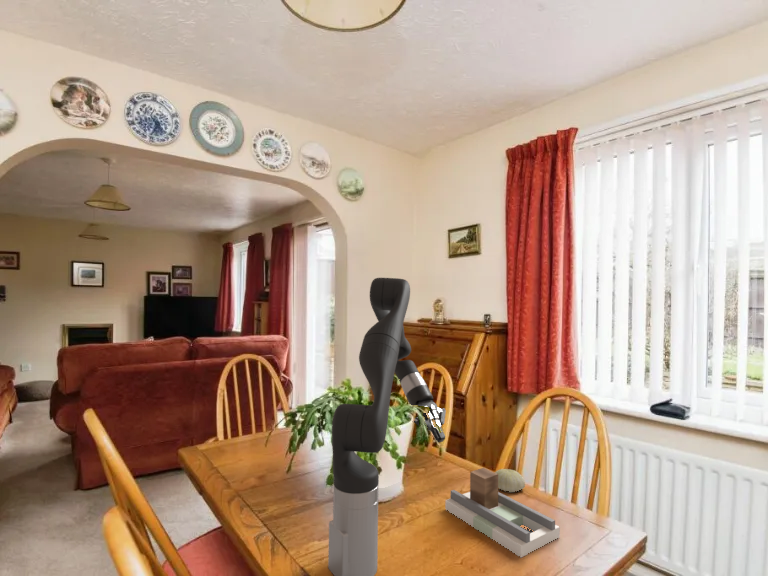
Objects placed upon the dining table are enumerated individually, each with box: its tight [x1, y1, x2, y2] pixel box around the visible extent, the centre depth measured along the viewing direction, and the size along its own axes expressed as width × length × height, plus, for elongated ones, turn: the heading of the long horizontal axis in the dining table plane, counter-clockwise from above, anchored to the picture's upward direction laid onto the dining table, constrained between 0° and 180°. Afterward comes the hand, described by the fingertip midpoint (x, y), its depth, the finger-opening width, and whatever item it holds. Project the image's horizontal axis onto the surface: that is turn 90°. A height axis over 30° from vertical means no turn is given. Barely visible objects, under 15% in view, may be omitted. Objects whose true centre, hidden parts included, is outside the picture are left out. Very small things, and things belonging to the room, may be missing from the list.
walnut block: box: [469, 467, 499, 509], centre depth 107 cm, size 5×5×8 cm
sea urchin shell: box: [494, 468, 526, 493], centre depth 123 cm, size 9×8×8 cm
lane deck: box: [444, 489, 561, 558], centre depth 103 cm, size 14×24×4 cm, turn 34°
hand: (442, 440), depth 121 cm, fingers closed
